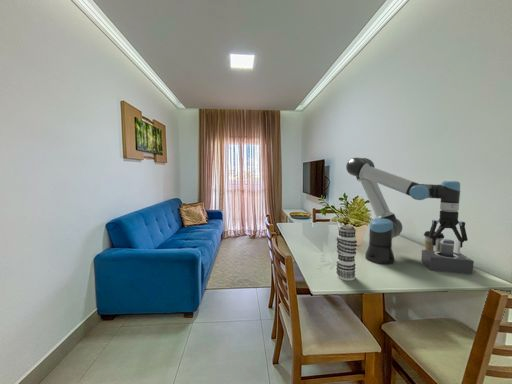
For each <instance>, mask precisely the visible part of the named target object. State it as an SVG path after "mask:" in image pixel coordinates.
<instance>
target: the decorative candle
mask: <svg viewBox="0 0 512 384" xmlns="http://www.w3.org/2000/svg"><path fill="white" fill-rule="evenodd" d="M356 232H357V229H356V228H355V227H354V226H352V225H347V224H346V225H345V224H343V225H341V226H340V227H339V228H338V235H337V238H336V241H337V242H336V248H337V250H336V253H337V261H336V272H335V273H336V277H337V278H338V279H339V280H342V281H343V280H344V281H348V282H349V281H354V280H355V279H356V277H355V276H356V274H355V273H356V260H355V259H356V257H355V256H356V255H357V248H356V247H357V246H358V244H357V243H358V241H357V239H356V237H357V236H356Z"/></svg>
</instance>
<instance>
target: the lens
mask: <svg viewBox="0 0 512 384" xmlns="http://www.w3.org/2000/svg"><path fill="white" fill-rule="evenodd" d="M454 247H455V241H454V240H452V239H448V238H443V239H441V241H440V252H439V253H440V254H439V255H440V256H444V257H451V258H453V253H454Z"/></svg>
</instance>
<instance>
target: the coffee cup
mask: <svg viewBox="0 0 512 384" xmlns="http://www.w3.org/2000/svg"><path fill="white" fill-rule="evenodd" d="M429 232H430V230H427V231H425V232H424V234H423V236H424V250H429V251H433V248H434V245H432V239H431V238H429V237H428V235H429ZM435 232H436V231H435ZM435 232H434V234H435ZM441 239H445V235H444V233H443V232H441V233H440V235H439V236H438V238H437V240H438V248H437V251H440V241H441Z"/></svg>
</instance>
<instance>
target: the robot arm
mask: <svg viewBox="0 0 512 384" xmlns="http://www.w3.org/2000/svg"><path fill="white" fill-rule="evenodd" d="M345 169H346V172H347V173H348V174H349V175H351V176H354V177H355V178H356V180H357V182H360V183H361V186H362V187H363V190H364V193H365V194H366V197H367V199H368V201H369V204H370V206H371V208H372V210H373V212H374V215H375V218H373V219H371V220H370V222H369V234H368V236H369V238H368V240H369V242H368V247H367V249H366V252H365V254H364V255H365V259H366V260H367V261H369V262H372V263H376V264H382V265H391V264H394V263H395V255H394V251H393V248H392V244H393V239H394V238H396V237H398V236H400V234H401V232H402V231H403V224H402V221H400V220H399V219H398V218H397V216H396V215H395V213H394V212H391V210H390V209H389V206H388V204H387V201H386V199H385V198H384V195H383V193H382V190H381V189H380V186H379V185H382V186H384V187H387V188H388V189H391V190H395V191H397V192H398V193H399V192H400V193H402V194H404V195H406V196H409V197H411V198H412V199H414V200H416V201H422V200H425V199H439V200H440V205H439V209H440V210H439V219H438V220H437V219H432V220H431V221H432V222H431V226H430V229H429V231H430V232H429V235H428V237H429V238H431V239H432V245H434V248H433V251H435V252H437V248H438V240H437V238H438V236H439V235H440V233H443V231H444V230H445V229H451V230H452V231H453V233H454V235H455V238H456V239H457V240H455V253H457V254H460V253H461V248H463V243H464V242H468V240H469V239H468V235H467V231H466V227H465V226H466V222H465V221H461V220H460V221H459V209H460V199H461V198H460V197H461V183H460V182H459V181H457V180H455V181H454V180H450V181H449V180H442V181H441V183H440V184H432V183H431V184H430V183H429V184H428V183H418V182H415V181H412V180H409V179H407V178H404V177H401V176H399V175H396V174H393V173H390V172H387V171H385V170H382V169H379V168H376V166H375V164H374V161H372V160H371V159H369V158H367V157H352V158H350V159H349V160H347V163H346V168H345ZM457 225H458V226H459V229H460V232H459V230H458V228H457ZM437 226H438V228H437ZM434 232H435V234H434Z"/></svg>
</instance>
